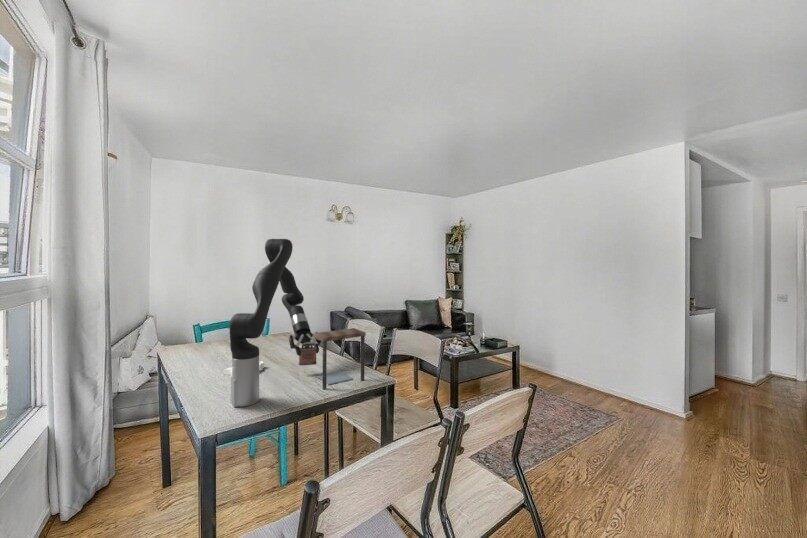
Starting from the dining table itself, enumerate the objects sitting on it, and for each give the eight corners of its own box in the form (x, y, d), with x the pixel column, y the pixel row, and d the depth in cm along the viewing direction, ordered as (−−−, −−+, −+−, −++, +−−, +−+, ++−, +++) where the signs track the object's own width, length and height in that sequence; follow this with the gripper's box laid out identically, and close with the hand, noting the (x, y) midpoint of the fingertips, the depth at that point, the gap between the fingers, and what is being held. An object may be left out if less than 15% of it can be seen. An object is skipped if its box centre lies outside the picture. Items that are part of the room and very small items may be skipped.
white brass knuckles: (247, 365, 170) (271, 369, 166) (217, 377, 153) (243, 381, 148) (247, 359, 170) (271, 362, 165) (217, 370, 153) (243, 373, 148)
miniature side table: (322, 390, 138) (323, 338, 137) (312, 382, 147) (312, 333, 146) (365, 380, 150) (365, 332, 149) (353, 373, 159) (353, 328, 158)
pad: (328, 385, 144) (328, 384, 144) (317, 377, 153) (317, 376, 153) (353, 379, 151) (353, 378, 151) (341, 372, 160) (341, 371, 160)
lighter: (298, 365, 154) (298, 344, 154) (298, 363, 157) (298, 342, 157) (316, 364, 156) (316, 343, 156) (316, 362, 159) (316, 341, 159)
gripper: (287, 321, 158) (295, 351, 149) (316, 319, 166) (325, 347, 157) (283, 331, 162) (291, 360, 153) (312, 328, 171) (321, 355, 162)
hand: (308, 353), depth 155 cm, fingers closed on lighter, 8 cm apart
